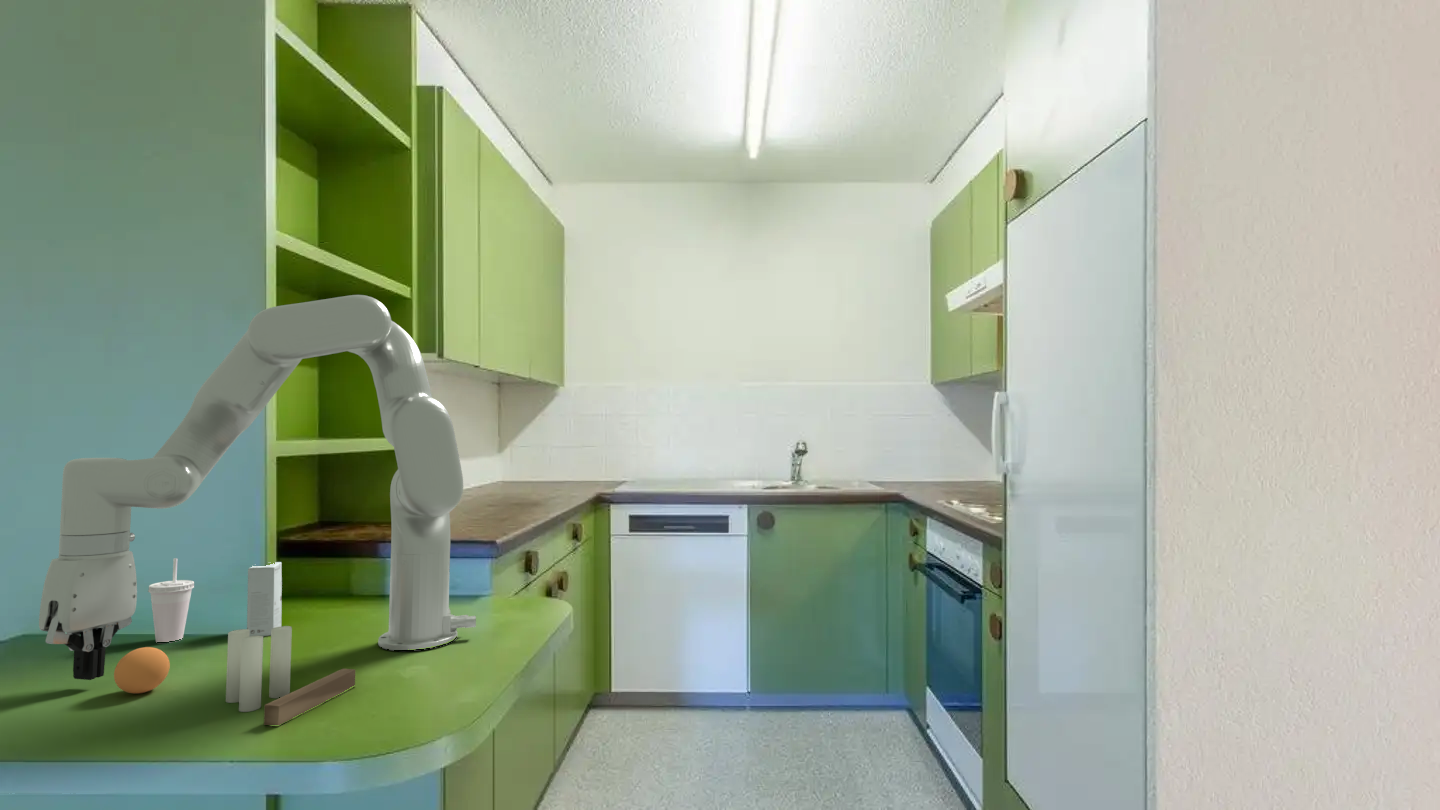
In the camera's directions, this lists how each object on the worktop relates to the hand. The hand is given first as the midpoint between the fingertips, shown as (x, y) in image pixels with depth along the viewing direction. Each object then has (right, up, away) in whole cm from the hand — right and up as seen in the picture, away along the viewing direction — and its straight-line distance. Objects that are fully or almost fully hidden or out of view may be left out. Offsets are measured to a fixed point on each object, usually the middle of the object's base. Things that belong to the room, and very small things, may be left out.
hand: (88, 677), depth 100 cm
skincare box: (+6, -3, +29) cm, 30 cm away
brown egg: (+9, +1, -1) cm, 9 cm away
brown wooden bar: (+35, -2, -6) cm, 35 cm away
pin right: (+28, -2, -2) cm, 28 cm away
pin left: (+27, -1, -7) cm, 28 cm away
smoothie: (-7, -3, +24) cm, 25 cm away
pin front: (+23, -2, -4) cm, 24 cm away
